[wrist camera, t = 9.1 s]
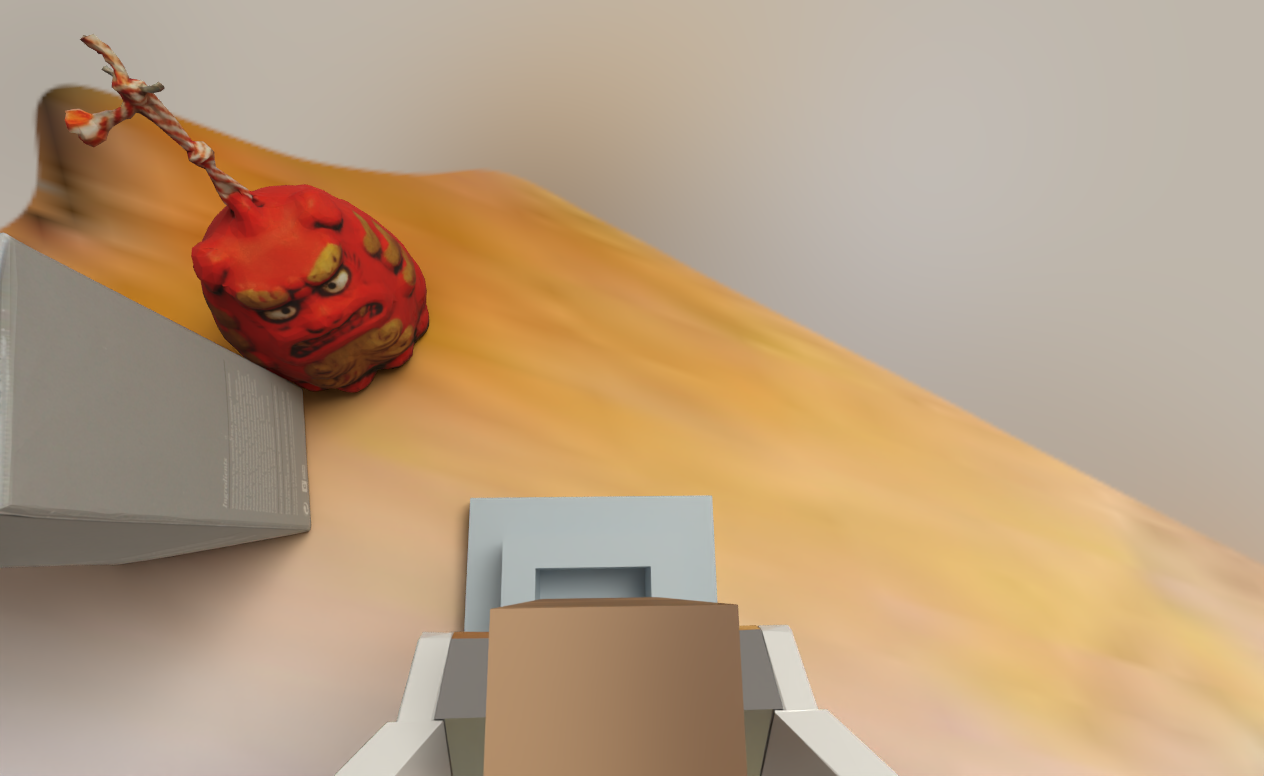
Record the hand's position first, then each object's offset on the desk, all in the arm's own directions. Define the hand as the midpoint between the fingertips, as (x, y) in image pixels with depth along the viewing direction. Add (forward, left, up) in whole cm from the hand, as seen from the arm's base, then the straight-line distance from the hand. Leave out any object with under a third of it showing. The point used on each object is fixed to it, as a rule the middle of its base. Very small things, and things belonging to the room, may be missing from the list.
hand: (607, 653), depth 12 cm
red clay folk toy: (-11, +13, -18) cm, 25 cm away
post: (0, -1, -6) cm, 6 cm away
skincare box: (-16, +5, -18) cm, 25 cm away
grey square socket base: (0, 0, -18) cm, 18 cm away
